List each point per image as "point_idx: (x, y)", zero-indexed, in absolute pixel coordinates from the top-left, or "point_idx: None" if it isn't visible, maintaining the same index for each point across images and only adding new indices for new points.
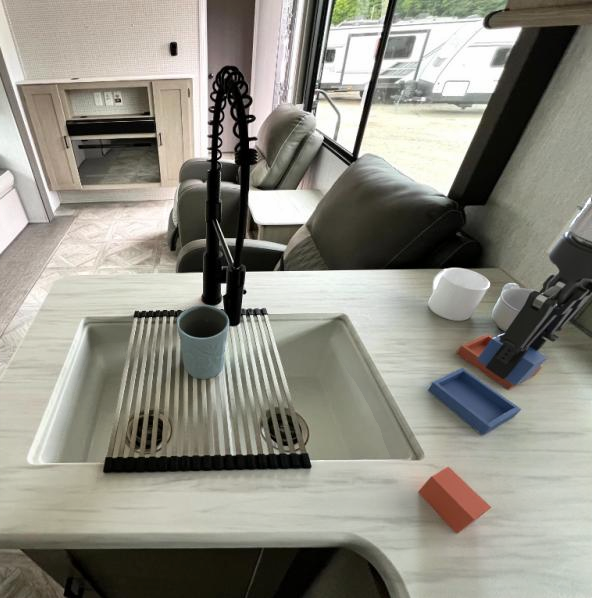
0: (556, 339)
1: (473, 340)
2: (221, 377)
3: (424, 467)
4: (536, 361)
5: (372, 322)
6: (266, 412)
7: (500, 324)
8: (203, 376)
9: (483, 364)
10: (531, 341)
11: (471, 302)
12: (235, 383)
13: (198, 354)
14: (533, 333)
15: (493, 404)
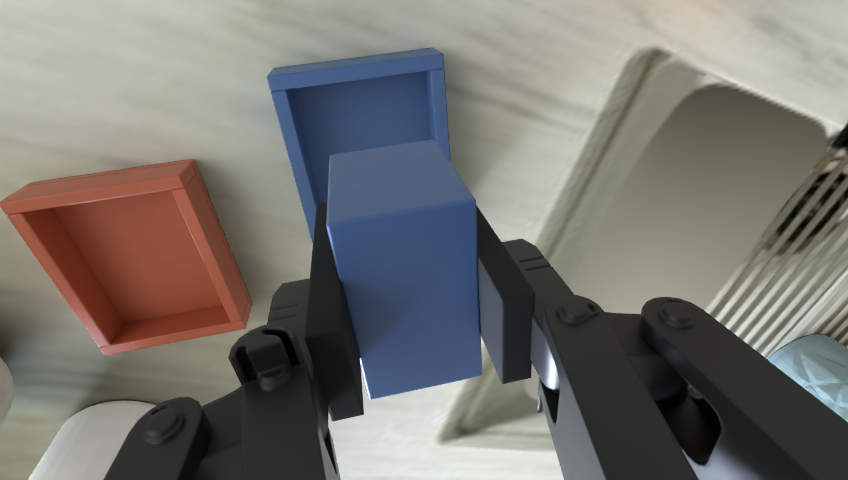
0: (244, 338)
1: (183, 339)
2: (795, 332)
3: (665, 23)
4: (433, 215)
5: (394, 416)
6: (803, 248)
7: (8, 380)
8: (834, 340)
9: (220, 256)
10: (607, 362)
11: (91, 475)
12: (788, 317)
13: None
14: (830, 464)
15: (306, 126)
